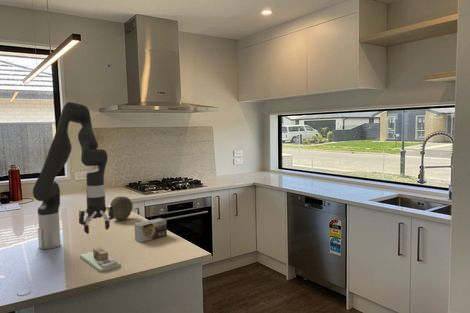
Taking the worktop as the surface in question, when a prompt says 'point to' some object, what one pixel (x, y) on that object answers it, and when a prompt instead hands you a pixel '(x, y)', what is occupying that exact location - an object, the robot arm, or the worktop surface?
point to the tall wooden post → (103, 258)
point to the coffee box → (150, 230)
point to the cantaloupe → (121, 207)
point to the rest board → (96, 262)
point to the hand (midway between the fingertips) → (97, 231)
